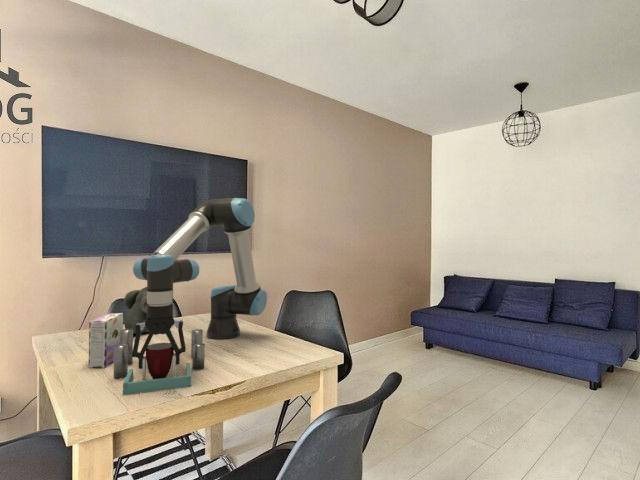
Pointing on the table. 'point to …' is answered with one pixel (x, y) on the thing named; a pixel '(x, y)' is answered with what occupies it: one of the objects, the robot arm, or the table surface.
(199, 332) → the cylinder
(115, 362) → the spacer front right
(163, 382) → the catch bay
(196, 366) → the cylinder
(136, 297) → the stuffed elephant
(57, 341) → the table surface
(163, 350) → the mug
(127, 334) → the spacer back right
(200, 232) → the robot arm
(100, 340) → the candy box
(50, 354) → the table surface
